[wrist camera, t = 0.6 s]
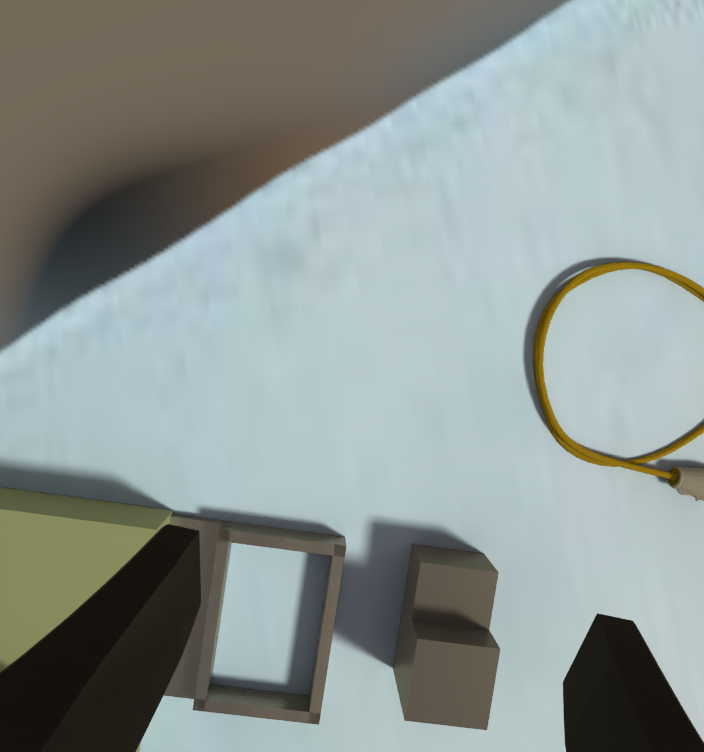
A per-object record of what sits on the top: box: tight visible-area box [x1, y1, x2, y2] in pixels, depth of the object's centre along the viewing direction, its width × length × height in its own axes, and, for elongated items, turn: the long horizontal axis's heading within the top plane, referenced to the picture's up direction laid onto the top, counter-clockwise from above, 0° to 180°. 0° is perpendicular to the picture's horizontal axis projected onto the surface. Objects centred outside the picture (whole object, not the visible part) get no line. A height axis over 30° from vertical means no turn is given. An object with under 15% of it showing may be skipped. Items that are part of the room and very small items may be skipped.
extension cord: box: [534, 262, 704, 501], centre depth 34 cm, size 12×16×2 cm
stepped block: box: [393, 544, 500, 730], centre depth 33 cm, size 7×4×5 cm, turn 172°
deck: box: [0, 487, 173, 752], centre depth 30 cm, size 16×11×7 cm
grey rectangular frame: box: [164, 514, 346, 724], centre depth 34 cm, size 10×9×2 cm
